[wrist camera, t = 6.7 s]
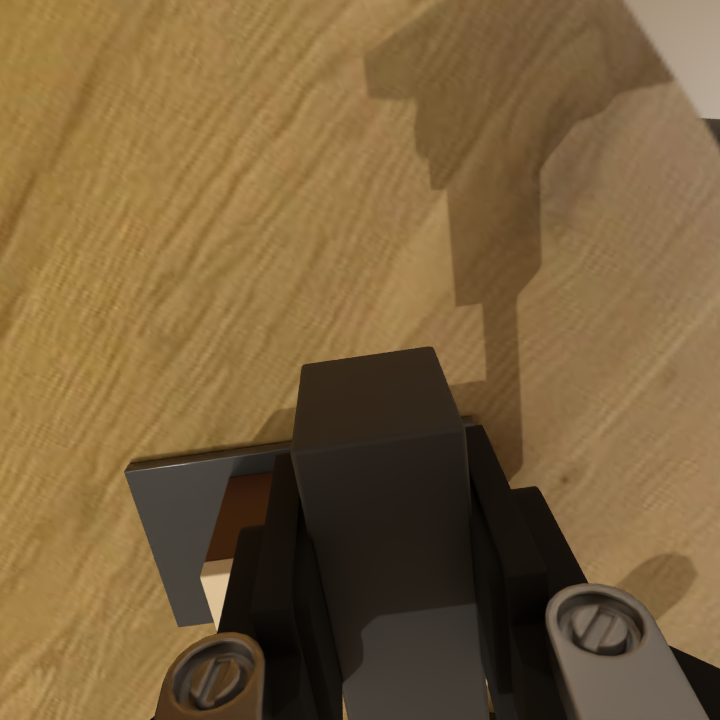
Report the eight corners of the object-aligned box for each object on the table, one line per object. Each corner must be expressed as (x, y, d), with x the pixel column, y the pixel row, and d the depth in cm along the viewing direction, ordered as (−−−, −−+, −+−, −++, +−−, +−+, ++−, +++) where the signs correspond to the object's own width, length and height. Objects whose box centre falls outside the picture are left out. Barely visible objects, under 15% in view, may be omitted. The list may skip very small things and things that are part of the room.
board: (471, 415, 26) (474, 422, 26) (484, 577, 30) (487, 586, 29) (127, 463, 27) (123, 471, 26) (181, 618, 30) (178, 627, 30)
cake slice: (308, 466, 26) (300, 563, 21) (334, 590, 29) (333, 706, 23) (228, 477, 26) (198, 577, 21) (261, 600, 29) (243, 717, 24)
